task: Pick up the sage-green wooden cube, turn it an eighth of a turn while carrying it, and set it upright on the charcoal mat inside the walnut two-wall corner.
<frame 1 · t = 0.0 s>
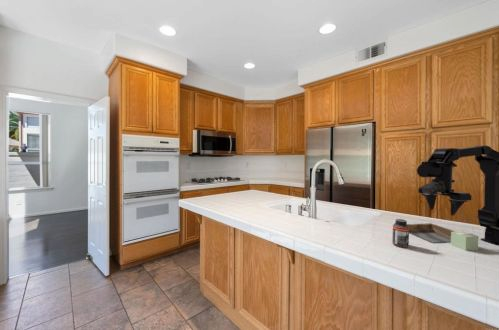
hand: (441, 212, 96), 15 cm above the worktop, tool pointing down, fingers open, 9 cm apart
corner arena: (431, 237, 107), on the worktop
supplement bottle: (400, 245, 97), on the worktop
cube: (463, 247, 95), on the worktop
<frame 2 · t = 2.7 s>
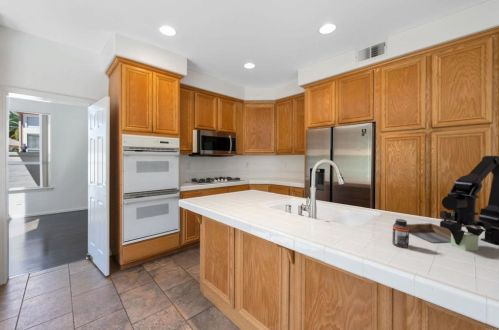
hand: (463, 244, 95), 1 cm above the worktop, tool pointing down, fingers closed on cube, 6 cm apart
cube: (463, 247, 95), on the worktop, touching gripper
everything else where it was.
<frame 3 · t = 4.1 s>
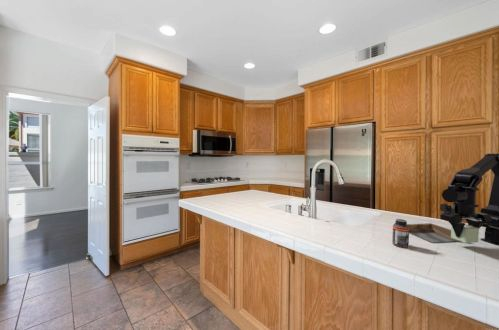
hand: (464, 236, 95), 5 cm above the worktop, tool pointing down, fingers closed on cube, 6 cm apart
cube: (464, 239, 95), point 3 cm above the worktop, touching gripper
everything else where it was.
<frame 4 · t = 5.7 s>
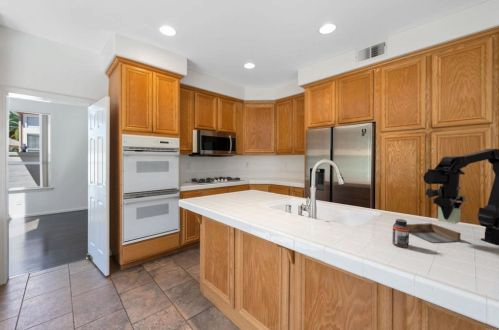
hand: (448, 218, 100), 11 cm above the worktop, tool pointing down, fingers closed on cube, 6 cm apart
cube: (448, 221, 100), point 10 cm above the worktop, touching gripper
everything else where it was.
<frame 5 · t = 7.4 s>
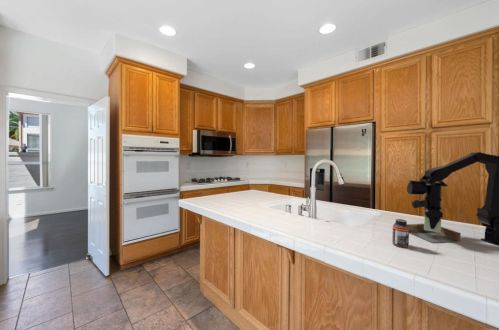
hand: (432, 227, 106), 5 cm above the worktop, tool pointing down, fingers closed on cube, 6 cm apart
cube: (432, 229, 106), point 4 cm above the worktop, touching gripper
everything else where it was.
when the fingers open (3 cm above the worktop, at t = 8.6 s): cube drops 1 cm, resting on corner arena.
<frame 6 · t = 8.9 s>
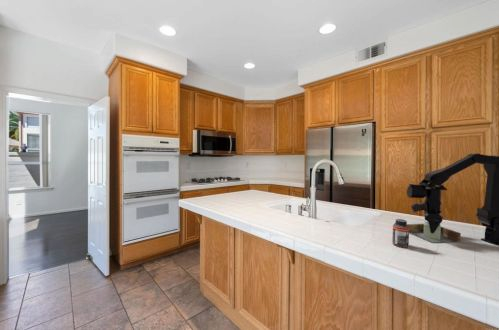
hand: (431, 230, 106), 3 cm above the worktop, tool pointing down, fingers open, 9 cm apart
cube: (431, 236, 107), resting on corner arena
everything else where it was.
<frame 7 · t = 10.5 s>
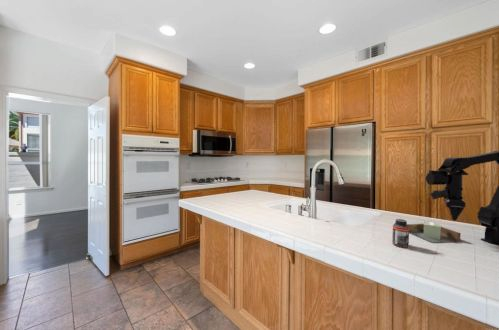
hand: (453, 217, 102), 11 cm above the worktop, tool pointing down, fingers open, 9 cm apart
nothing on the worktop moved.
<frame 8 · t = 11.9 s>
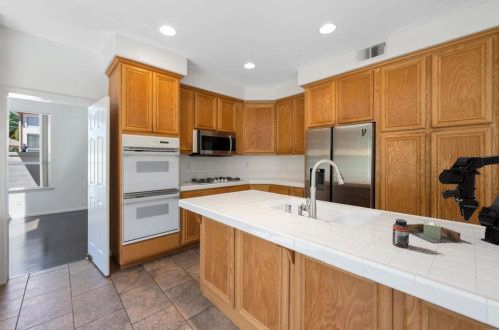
hand: (464, 218, 100), 11 cm above the worktop, tool pointing down, fingers open, 9 cm apart
nothing on the worktop moved.
at the end: cube 0.0 cm off-centre on the corner arena, point 0.4 cm above the corner arena's base; cube tilted 0°; the gripper is holding nothing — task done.
